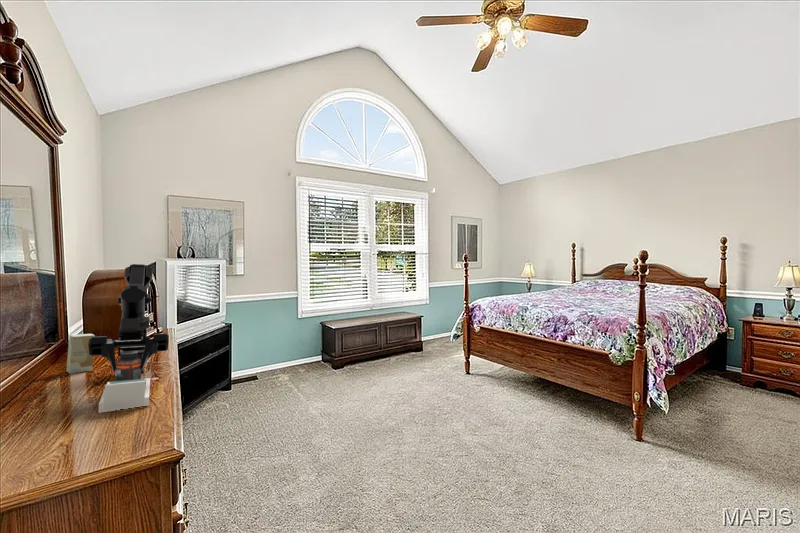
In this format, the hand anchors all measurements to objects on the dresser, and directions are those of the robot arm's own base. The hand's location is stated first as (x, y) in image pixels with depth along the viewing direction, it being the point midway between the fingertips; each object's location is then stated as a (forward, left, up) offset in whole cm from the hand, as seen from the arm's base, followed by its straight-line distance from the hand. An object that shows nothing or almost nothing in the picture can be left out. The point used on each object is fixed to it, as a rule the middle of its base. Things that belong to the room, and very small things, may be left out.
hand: (128, 369), depth 105 cm
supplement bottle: (-2, 0, -7) cm, 7 cm away
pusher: (+3, 0, -8) cm, 8 cm away
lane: (0, 0, -8) cm, 8 cm away
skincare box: (-37, -15, -8) cm, 41 cm away
